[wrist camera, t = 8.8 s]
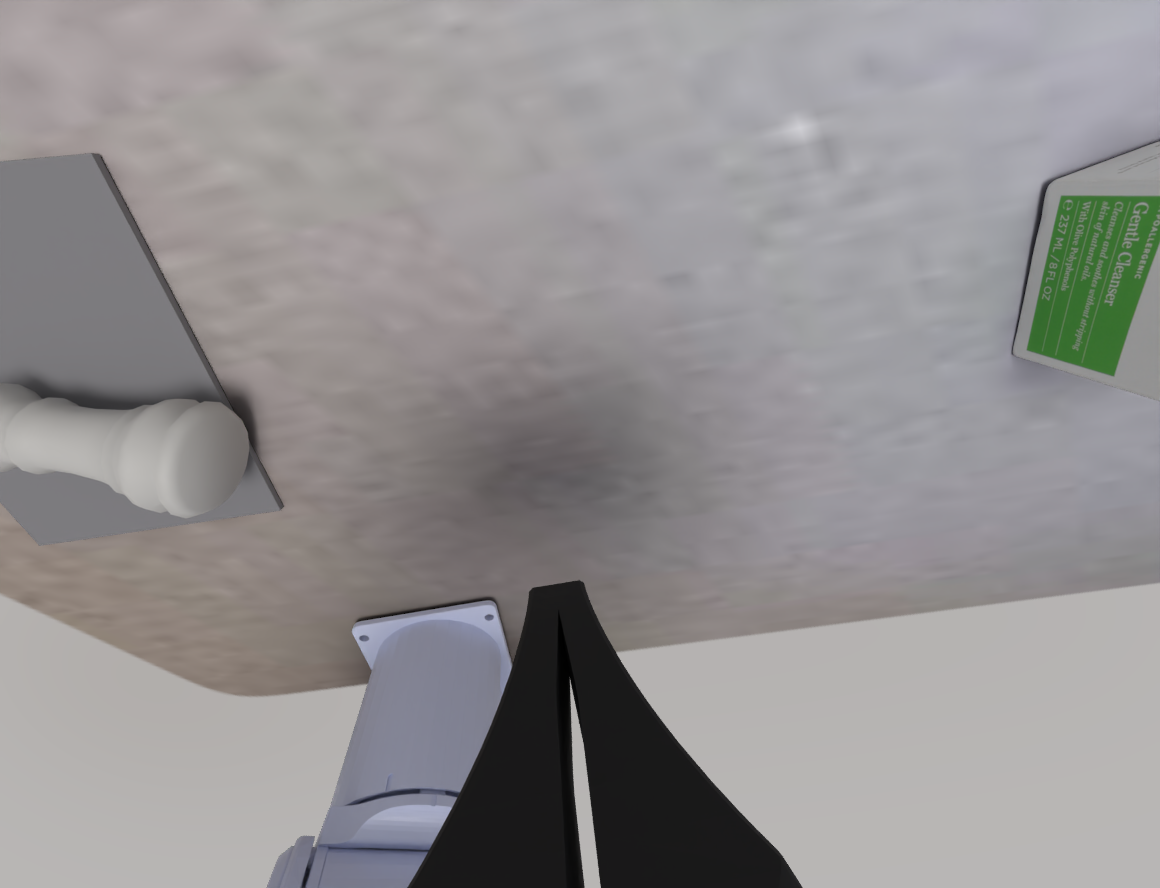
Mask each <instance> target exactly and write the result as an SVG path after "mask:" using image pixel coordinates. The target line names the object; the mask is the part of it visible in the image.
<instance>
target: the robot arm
mask: <svg viewBox="0 0 1160 888" xmlns="http://www.w3.org/2000/svg"><path fill="white" fill-rule="evenodd" d="M488 614H491V615H488ZM352 634H353V636H354V638H355V640H356V641H357V643H358V645H359V647H360V649H361V651H362V653H363V655H364V657H365V659H366V661H367V663H368V665H369V667H370V668H371V670H372V672H371V675H370V678H369V682H368V685H367V688H366V692H365V695H364V698H363V702H362V705H361V708H360V711H359V715H358V718H357V721H356V724H355V727H354V731H353V734H352V738H351V740H350V744H349V747H348V751H347V754H346V757H345V760H344V763H343V767H342V770H341V773H340V776H339V780H338V783H337V786H336V790H335V793H334V796H333V799H332V802H331V806H330V808H329V810H328V813H327V815H326V818H325V821H324V823H323V826H322V829H321V831H320V834H319V837H318V839H317V842H316V845H315V847H312V846H313V842H314V838H315V837H314V836H301V837H299V838H298V839H297V841H296V843H295V845H294V846H291V847H290V848H288V849H287V850H286V851H285V852H284V853H282V854H281V855H280V856H279V858H278V860H277V862H276V864H275V867H274V870H273V872H272V875H271V878H270V880H269V883H268V885H267V888H584V879H583V870H582V861H581V852H580V843H579V833H578V824H577V815H576V805H575V797H574V782H573V763H572V732H571V706H570V705H571V704H570V703H571V702H570V680H571V685H572V690H573V695H574V700H575V704H576V709H577V714H578V719H579V724H580V728H581V733H582V738H583V742H584V750H585V758H586V766H587V774H588V783H589V791H590V799H591V807H592V816H593V825H594V833H595V841H596V850H597V859H598V867H599V876H600V884H601V888H802V886H801V884H800V883H799V881H798V880H797V878H796V876H795V875H794V873H793V872H792V870H791V869H790V867H789V866H788V864H787V862H786V861H785V860H784V858H783V856H782V855H781V854H780V853H779V851H778V850H777V849H776V848H775V847H774V846H773V845H772V844H771V843H770V842H769V841H768V840H767V839H766V838H765V837H764V836H763V835H762V834H761V833H760V832H759V831H758V830H757V829H756V828H755V827H754V826H753V825H752V824H751V823H750V822H749V821H748V820H747V819H746V818H745V817H744V816H743V815H742V814H741V813H740V812H739V811H738V810H737V808H736V807H735V806H734V805H733V804H732V803H731V802H730V801H729V800H728V799H727V798H726V797H725V795H724V794H723V793H722V792H721V791H720V790H719V789H718V788H717V787H716V786H715V785H714V783H713V782H712V781H711V780H710V779H709V778H708V777H707V775H706V774H705V773H704V772H703V771H702V769H701V768H700V767H699V766H698V765H697V764H696V762H695V761H694V760H693V759H692V758H691V757H690V755H689V754H688V753H687V752H686V751H685V750H684V748H683V747H682V746H681V745H680V744H679V743H678V741H677V740H676V739H675V737H674V736H673V735H672V733H671V732H670V731H669V730H668V728H667V727H666V726H665V724H664V723H663V722H662V721H661V719H660V718H659V717H658V716H657V714H656V712H655V711H654V710H653V709H652V707H651V706H650V704H649V703H648V702H647V700H646V699H645V698H644V696H643V694H642V693H641V691H640V690H639V689H638V687H637V686H636V684H635V683H634V681H633V680H632V678H631V677H630V675H629V673H628V672H627V670H626V669H625V667H624V665H623V664H622V662H621V660H620V659H619V657H618V656H617V654H616V652H615V650H614V649H613V647H612V645H611V643H610V641H609V640H608V638H607V636H606V634H605V632H604V630H603V629H602V627H601V625H600V623H599V621H598V618H597V616H596V614H595V612H594V610H593V608H592V605H591V603H590V600H589V598H588V595H587V592H586V589H585V585H584V583H583V582H581V581H580V580H578V581H572V582H566V583H560V584H554V585H548V586H542V587H536V588H532V590H531V591H530V592H529V600H528V606H527V612H526V617H525V622H524V626H523V630H522V634H521V638H520V642H519V645H518V649H517V652H516V655H515V659H514V662H513V666H512V662H511V658H510V655H509V651H508V647H507V643H506V639H505V636H504V632H503V628H502V624H501V621H500V617H499V613H498V609H497V605H496V604H495V603H494V602H493V601H490V600H486V601H480V602H474V603H468V604H462V605H456V606H450V607H444V608H438V609H432V610H426V611H419V612H413V613H407V614H401V615H395V616H389V617H383V618H377V619H371V620H365V621H360V622H357V623H355V624H354V626H353V629H352ZM365 635H366V636H365Z"/></svg>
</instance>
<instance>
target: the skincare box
mask: <svg viewBox="0 0 1160 888" xmlns="http://www.w3.org/2000/svg"><path fill="white" fill-rule="evenodd" d="M1013 354H1014V355H1015V356H1017V357H1019V358H1022V359H1026V360H1029V361H1033V362H1036V363H1039V364H1043V365H1046V366H1049V367H1052V368H1055V369H1059V370H1062V371H1065V372H1068V373H1071V374H1074V375H1078V376H1081V377H1084V378H1087V379H1090V380H1094V381H1097V382H1100V383H1103V384H1106V385H1109V386H1112V387H1116V388H1119V389H1122V390H1125V391H1128V392H1132V393H1135V394H1138V395H1141V396H1144V397H1148V398H1151V399H1154V400H1157V401H1160V141H1159V142H1156V143H1153V144H1150V145H1147V146H1145V147H1142V148H1139V149H1137V150H1134V151H1131V152H1128V153H1126V154H1123V155H1120V156H1118V157H1115V158H1112V159H1110V160H1107V161H1104V162H1102V163H1099V164H1096V165H1094V166H1091V167H1088V168H1085V169H1083V170H1080V171H1077V172H1075V173H1072V174H1069V175H1067V176H1064V177H1061V178H1059V179H1056V180H1054V181H1053V182H1052V183H1051V184H1050V185H1049V186H1048V188H1047V191H1046V195H1045V199H1044V205H1043V211H1042V219H1041V223H1040V226H1039V230H1038V234H1037V238H1036V243H1035V247H1034V252H1033V257H1032V262H1031V268H1030V272H1029V277H1028V282H1027V287H1026V292H1025V297H1024V301H1023V306H1022V311H1021V316H1020V320H1019V325H1018V330H1017V334H1016V338H1015V342H1014V347H1013Z"/></svg>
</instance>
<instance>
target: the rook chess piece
mask: <svg viewBox="0 0 1160 888" xmlns="http://www.w3.org/2000/svg"><path fill="white" fill-rule="evenodd" d="M248 454H249V439H248V432H247V430H246V428H245V426H244V423H243V421H242V420H241V419H240V418H239V417H238V416H237V415H236V414H235V413H234V412H233V411H232V410H230V409H229V408H228V407H226V406H225V405H224V404H222V403H221V402H209V401H204V402H202V403H199V402H198V401H196V400H192V399H167V400H164V401H161V402H159V403H157V404H154V405H142V406H140V407H137V408H135V409H130V410H112V409H93V408H87V407H80V406H78V405H77V404H75V403H73V402H71V401H69V400H67V399H65V398H51V397H48V398H45V399H42V398H41V397H40V396H39V395H38V394H37V393H36V392H34V391H32V390H30V389H28V388H26V387H24V386H21V385H19V384H6V383H0V472H7V471H10V470H12V469H14V468H17V467H19V468H20V469H21V470H23V471H26V472H30V473H33V474H46V473H54V472H56V471H58V472H65V473H72V474H76V475H79V476H83V477H87V478H90V479H94V480H98V481H101V482H104V483H106V484H108V485H109V486H110V487H111V488H112V489H113V490H114V491H115V492H116V493H120V494H123V495H125V496H126V497H127V498H128V499H129V500H130V501H131V502H132V503H133V504H134V505H136V506H139V507H141V508H143V509H147V510H151V511H154V512H158V513H163V512H167V511H168V512H169V513H170V514H171V515H175V516H179V517H182V518H186V519H187V518H190V517H193V516H197V515H200V514H203V513H206V512H208V511H210V510H213V509H215V508H217V507H218V506H220V505H221V504H222V503H223V502H225V501H226V500H227V499H228V498H230V496H231V495H232V493H233V492H234V491H235V489H236V488H237V486H238V485H239V483H240V481H241V479H242V476H243V474H244V471H245V469H246V466H247V461H248Z"/></svg>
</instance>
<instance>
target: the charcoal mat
mask: <svg viewBox="0 0 1160 888" xmlns="http://www.w3.org/2000/svg"><path fill="white" fill-rule="evenodd" d="M0 383H6V384H19V385H21V386H24V387H26V388H28V389H30V390H32V391H34V392H36V393H37V394H38V395H39V396H40V397H41V398H42V399H45V398H48V397H51V398H65V399H67V400H69V401H71V402H73V403H75V404H77V405H78V406H80V407H87V408H93V409H112V410H130V409H135V408H137V407H140V406H142V405H154V404H157V403H159V402H161V401H164V400H167V399H192V400H196V401H198V402H199V403H202V402H204V401H209V402H221V403H222V404H224V405H225V406H226V407H228V408H229V409H230V410H232V411H233V409H232V407H231V405H230V403H229V401H228V399H227V398H226V396H225V394H224V392H223V390H222V388H221V386H220V384H219V382H218V380H217V378H216V377H215V375H214V373H213V371H212V369H211V367H210V365H209V363H208V361H207V359H206V357H205V356H204V354H203V352H202V350H201V348H200V346H199V344H198V342H197V340H196V338H195V336H194V335H193V333H192V331H191V329H190V327H189V325H188V323H187V321H186V319H185V317H184V315H183V314H182V312H181V310H180V308H179V306H178V304H177V302H176V300H175V298H174V296H173V294H172V293H171V291H170V289H169V287H168V285H167V283H166V281H165V279H164V277H163V275H162V273H161V271H160V270H159V268H158V266H157V264H156V262H155V260H154V258H153V256H152V254H151V252H150V250H149V249H148V247H147V245H146V243H145V241H144V239H143V237H142V235H141V233H140V231H139V229H138V228H137V226H136V224H135V222H134V220H133V218H132V216H131V214H130V212H129V210H128V208H127V207H126V205H125V203H124V201H123V199H122V197H121V195H120V193H119V191H118V189H117V187H116V186H115V184H114V182H113V180H112V178H111V176H110V174H109V172H108V170H107V168H106V166H105V164H104V163H103V161H102V159H101V157H100V155H99V154H93V153H89V154H78V155H67V156H56V157H45V158H34V159H23V160H12V161H1V162H0ZM233 412H234V411H233ZM0 503H1V504H2V505H3V506H4V507H5V508H6V509H7V511H8V512H9V513H10V514H11V515H12V516H13V517H14V518H15V519H16V520H17V522H18V523H19V524H20V525H21V526H22V527H23V528H24V529H25V530H26V531H27V532H28V534H29V535H30V536H31V537H32V538H33V539H34V540H35V541H36V542H37V543H38V545H39V546H41V545H48V544H55V543H62V542H69V541H75V540H82V539H89V538H96V537H103V536H110V535H116V534H123V533H130V532H137V531H144V530H151V529H157V528H164V527H171V526H178V525H185V524H192V523H198V522H205V521H212V520H219V519H226V518H233V517H239V516H246V515H253V514H260V513H267V512H274V511H280V510H281V509H282V508H283V507H284V506H283V505H282V503H281V501H280V499H279V497H278V495H277V493H276V491H275V489H274V487H273V485H272V484H271V482H270V480H269V478H268V476H267V474H266V472H265V470H264V468H263V466H262V464H261V463H260V461H259V459H258V457H257V455H256V453H255V451H254V449H253V447H252V445H251V443H250V442H249V454H248V461H247V466H246V469H245V471H244V474H243V476H242V479H241V481H240V483H239V485H238V486H237V488H236V489H235V491H234V492H233V493H232V495H231V496H230V498H228V499H227V500H226V501H225V502H223V503H222V504H221V505H220V506H218V507H217V508H215V509H213V510H210V511H208V512H206V513H203V514H200V515H197V516H193V517H190V518H187V519H186V518H182V517H179V516H175V515H171V514H170V513H169V512H168V511H167V512H163V513H158V512H154V511H151V510H147V509H143V508H141V507H139V506H136V505H134V504H133V503H132V502H131V501H130V500H129V499H128V498H127V497H126V496H125V495H123V494H120V493H116V492H115V491H114V490H113V489H112V488H111V487H110V486H109V485H108V484H106V483H104V482H101V481H98V480H94V479H90V478H87V477H83V476H79V475H76V474H72V473H65V472H58V471H56V472H54V473H46V474H33V473H30V472H26V471H23V470H21V469H20V468H19V467H17V468H14V469H12V470H10V471H7V472H0Z"/></svg>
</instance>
